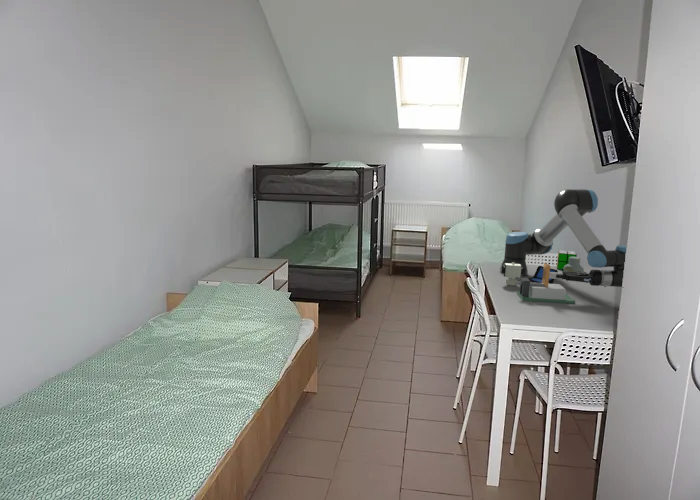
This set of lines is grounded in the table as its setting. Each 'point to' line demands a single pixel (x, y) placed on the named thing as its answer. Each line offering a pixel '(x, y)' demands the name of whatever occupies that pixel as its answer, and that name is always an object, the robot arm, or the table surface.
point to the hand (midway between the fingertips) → (548, 275)
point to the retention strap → (544, 279)
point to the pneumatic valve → (512, 272)
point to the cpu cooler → (543, 293)
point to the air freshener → (573, 265)
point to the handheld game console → (541, 275)
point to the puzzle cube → (564, 258)
